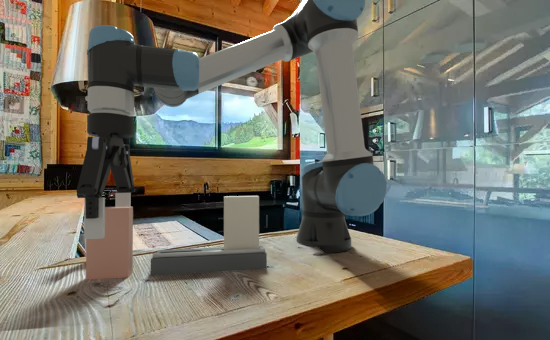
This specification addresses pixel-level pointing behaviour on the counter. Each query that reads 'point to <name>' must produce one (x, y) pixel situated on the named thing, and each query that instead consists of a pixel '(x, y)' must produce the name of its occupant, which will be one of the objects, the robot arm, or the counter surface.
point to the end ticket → (112, 246)
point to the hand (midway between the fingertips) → (110, 230)
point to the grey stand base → (207, 260)
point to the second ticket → (241, 222)
